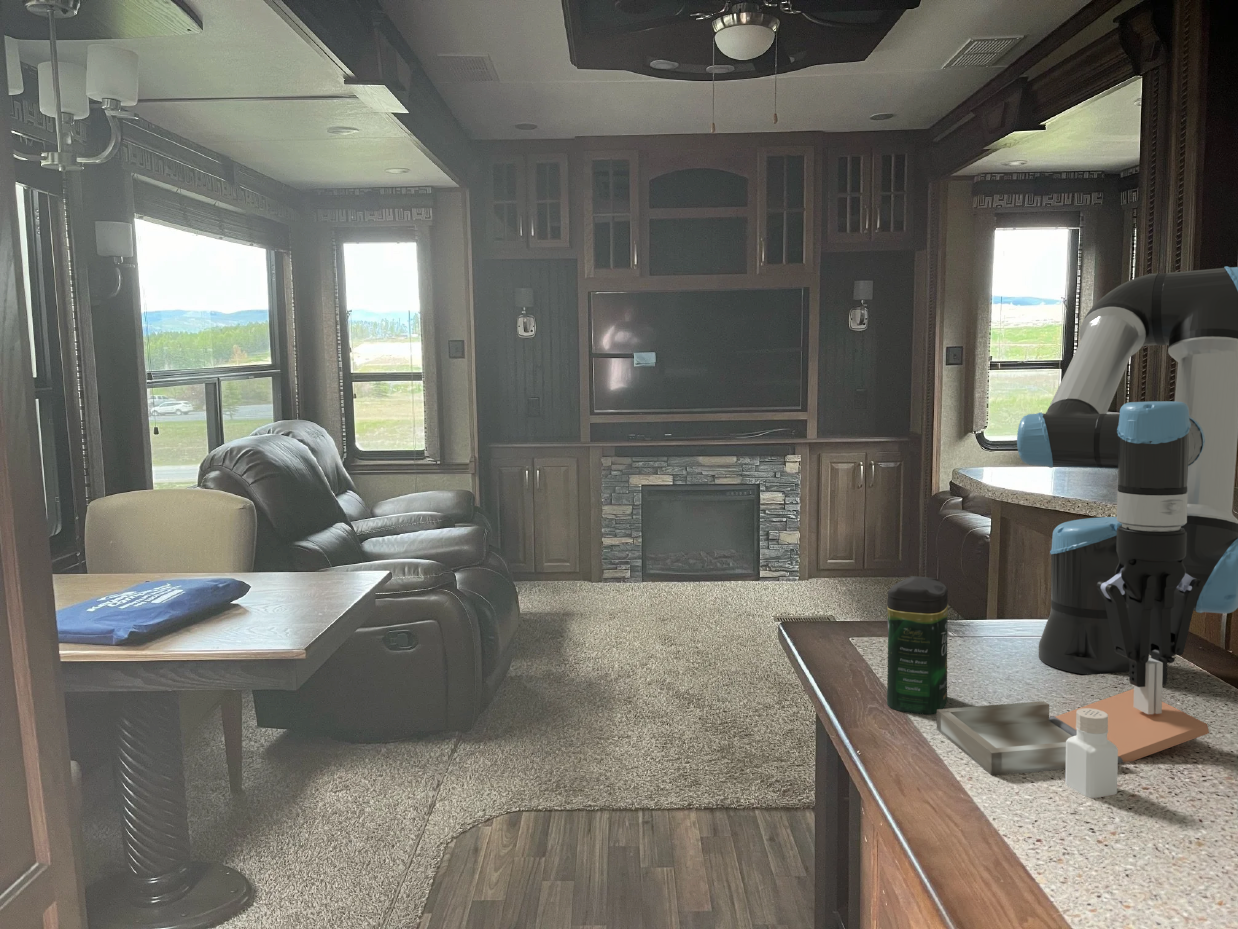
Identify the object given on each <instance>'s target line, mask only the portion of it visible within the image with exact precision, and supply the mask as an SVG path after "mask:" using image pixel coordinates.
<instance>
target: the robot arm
mask: <svg viewBox="0 0 1238 929" xmlns="http://www.w3.org/2000/svg"><path fill="white" fill-rule="evenodd" d="M1079 339H1080V342H1079V344H1078V346H1077V348H1076V350H1075V352H1074V355H1073V356H1072V359H1071V361H1070V363H1069V365H1068V367H1067V369H1066V371H1065V372H1064V375H1063V378H1062V379H1061V381H1060V384H1059V386H1058V387H1057V389H1056V392H1055V394H1054V396H1053V398H1052V400H1051V402H1050V405H1049V407H1048V408H1047V410H1046V412H1045V413H1043V412H1038V413H1029V414H1027V415H1024V416H1023V417H1022V418H1021V420H1020V422H1019V424H1018V428H1017V429H1018V430H1017V435H1016V447H1017V451H1018V456H1019V458H1020V460H1021V461H1022V462H1023V463H1024V464H1026V465H1029V466H1038V467H1047V468H1050V469H1051V468H1074V469H1076V468H1080V469H1081V468H1082V469H1084V468H1085V469H1104V470H1105V469H1110V470H1111V469H1112V470H1118V471H1117V495H1116V496H1117V497H1116V499H1117V500H1116V516H1106V517H1105V516H1102V517H1100V516H1099V517H1089V518H1079V519H1073V520H1068V521H1065V522H1062V523H1060V524H1058V525H1057V526H1056V527H1055V528H1053V531H1052V535H1051V536H1052V540H1051V549H1050V551H1049V553H1050V554H1049V555H1051V556H1050V558H1051V559H1050V561H1051V562H1050V564H1051V565H1050V568H1051V569H1050V613H1049V616H1048V618H1047V621H1046V624H1045V626H1044V629H1043V632H1042V634H1041V638H1040V640H1039V641H1038V658H1039V660H1040V661H1041V662H1043V663H1044V664H1046V665H1048V666H1050V667H1052V668H1055V669H1058V670H1061V671H1065V672H1070V673H1074V674H1080V675H1087V676H1093V675H1106V674H1118V673H1119V674H1121V673H1129V676H1128V677H1129V678H1128V680H1129V681H1128V682H1129V683H1130V685H1133V689H1134V707H1135V708H1137V709H1138V710H1140V711H1142V712H1144V713H1146V714H1154V713H1155V714H1161V713H1162V702H1163V686H1166V685H1167V682H1168V664H1172V663H1174V662H1175V658H1176V657H1174V656H1181V655H1183V654H1184V652H1185V649H1186V648H1185V647H1186V643H1187V639H1188V634H1189V631H1190V628H1191V627H1190V626H1191V622H1192V616H1193V614H1194V613H1193V612H1194V611H1195V612H1196V613H1199V614H1202V613H1213V614H1214V613H1215V614H1230V613H1233V612H1235V611H1236V610H1238V518H1237V517H1235V516H1234V514H1233V501H1234V488H1235V475H1236V462H1237V448H1238V266H1234V267H1233V266H1232V267H1230V266H1224V267H1220V268H1210V269H1209V268H1208V269H1198V270H1187V271H1184V270H1183V271H1176V272H1165V273H1160V272H1159V273H1150V274H1149V273H1148V274H1145V275H1142V276H1138V277H1135V278H1133V279H1131V280H1128V281H1126V282H1124V283H1121V284H1119V285H1118V286H1116V287H1115V288H1113V289H1112V290H1111V291H1109V292H1107V293H1106V294H1105V295H1104V296H1103V297H1101V298H1100V299H1099V300H1097V302H1095V304H1094V305H1093V306H1092V307H1090V309H1088V312H1087V314H1085V316H1084V318H1083V320H1082V322H1081V325H1080V327H1079ZM1147 346H1168V349H1167V350H1168V351H1167V353H1168V355H1169V356H1170V357H1171V358H1172V359H1174V360H1175V362H1177V372H1176V383H1175V384H1176V385H1175V393H1174V394H1175V395H1174V401H1173V400H1172V401H1169V400H1168V401H1166V400H1165V401H1162V400H1161V401H1158V400H1157V401H1155V400H1154V401H1151V400H1150V401H1132V402H1126V403H1123V405H1122V406H1121V407H1120V409H1119V413H1108V411H1109V409H1110V407H1111V403H1112V401H1113V400H1114V397H1115V395H1116V392H1117V391H1118V387H1119V385H1120V382H1121V381H1122V379H1123V375H1124V373H1125V371H1126V368H1127V366H1128V363H1129V361H1130V359H1131V357H1132V356H1134V355H1136V354H1137V353H1138V351H1140V350H1141V348H1142V347H1147Z"/></svg>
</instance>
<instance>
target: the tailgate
mask: <svg viewBox="0 0 1238 929" xmlns="http://www.w3.org/2000/svg"><path fill="white" fill-rule="evenodd" d="M1082 708H1091V709H1097V710H1101V711H1104V712H1105V713H1107V714H1108V733H1107V740H1109V741H1110V742H1112V743H1113V744H1114V745H1116V747H1117V748H1118V764H1120V763H1122V764H1123V763H1124V762H1133V761H1137V760H1139V759H1142V758H1145V757H1147V756H1150V755H1153V754H1156V753H1159V752H1161V751H1164V750H1167V749H1169V748H1173V747H1175V746H1177V745H1180V744H1183V743H1186V742H1189V741H1192V740H1194V739H1197V738H1200V737H1203V736H1206V735H1208V734H1210V731H1209V726H1208V723H1206V722H1204V721H1202V720H1200V719H1198V718H1196V717H1195V716H1192V715H1191V714H1188V713H1187V712H1184V711H1182V710H1180V709H1178V708H1176V707H1174V706H1172V705H1170V704H1168V703H1167V702H1164V701H1162V713H1161V714H1155V713H1154V714H1146V713H1144V712H1142V711H1140V710H1138V709H1137V708H1135V707H1134V688H1131V689H1128V690H1126V691H1123V692H1120V693H1118V694H1115V695H1112V696H1109V697H1107V698H1103V699H1101V700H1097V701H1094V702H1092V703H1089V704H1087V705H1084V706H1081V707H1079V708H1078V707H1077V708H1076V709H1072V710H1070V711H1068V712H1064V713H1062V714H1058V715H1056V716H1055V715H1051V716H1049V721H1050V722H1051V723H1053V724H1054V725H1056V726H1058V727H1059V728H1061V729H1062V730H1064V731H1065V732H1067V733H1068V734H1070V735H1072V736H1076V735H1077V729H1076V712H1077V710H1079V709H1082Z"/></svg>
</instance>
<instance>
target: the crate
mask: <svg viewBox="0 0 1238 929" xmlns="http://www.w3.org/2000/svg"><path fill="white" fill-rule="evenodd" d="M1049 717H1050V704H1049V703H1048V702H1047V701H1045V700H1040V701H1027V702H1017V703H1003V704H989V705H977V706H976V705H975V706H965V707H964V706H963V707H952V708H951V707H950V708H944V709H937V714H936V730H937V731H938V732H939V733H940V734H941V735H942V736H943V737H945V738H946V739H947V740H948V741H950V742H951V743H952V744H953V745H954V746H955V747H956V748H958V749H959V750H960V751H962V753H964V754H965V755H966V756H968V757H969V758H970V760H972V761H974V763H976V764H977V765H978V766H980V767H981V768H982V769H983V770H985V771H986V773H988V774H989V775H991V776H1004V775H1013V774H1015V775H1016V774H1027V773H1035V772H1036V773H1038V772H1048V771H1049V772H1050V771H1058V770H1059V771H1060V770H1066V741H1067V739H1068V738H1070V737H1073V736H1072V735H1070V734H1068V733H1067V732H1065V731H1064V730H1062V729H1061V728H1059V727H1058V726H1056V725H1054V724H1053V723H1051V722H1050V721H1049Z"/></svg>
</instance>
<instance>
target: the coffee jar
mask: <svg viewBox="0 0 1238 929" xmlns="http://www.w3.org/2000/svg"><path fill="white" fill-rule="evenodd" d="M948 592H949V590H948V588H947V586H946V585H945V584H944V583H942V581H940V580H939V579H938V578H934V577H927V576H914V575H909V576H908V578H905V579H903V580H900V581H899V582H896V583H895V584H893V586H891V587H890V588H889V589H888V592H887V603H886V604H887V608H886V609H887V676H886V677H887V678H886V681H887V682H886V683H887V685H886V704H887V707H888V708H889V709H892V710H894V711H897V712H902V713H907V714H913V715H914V714H915V715H923V716H924V715H928V716H930V715H931V716H932V715H937V709H945V707H946V706H947V702H948V625H949V624H948V621H949V618H948V616H949V615H948V614H949V600H948V599H949V598H948V597H949V596H948V594H949V593H948Z"/></svg>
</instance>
